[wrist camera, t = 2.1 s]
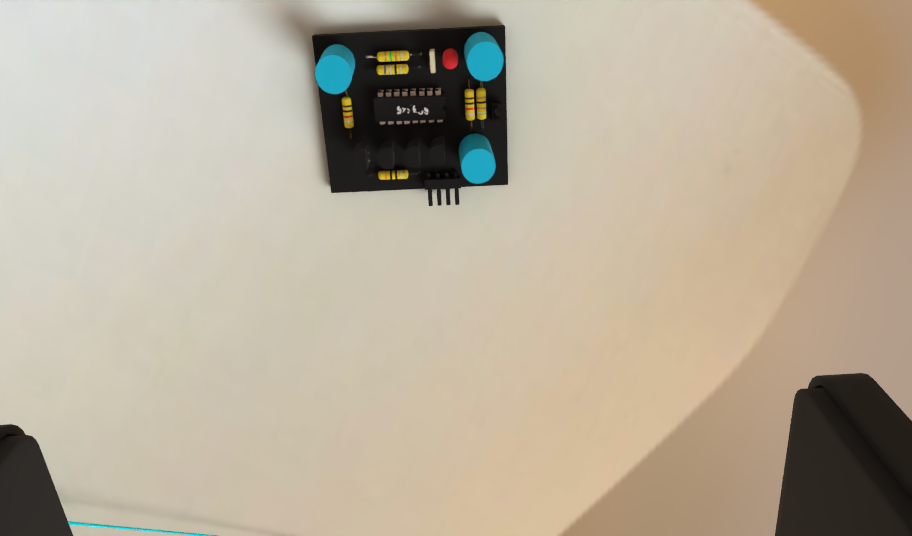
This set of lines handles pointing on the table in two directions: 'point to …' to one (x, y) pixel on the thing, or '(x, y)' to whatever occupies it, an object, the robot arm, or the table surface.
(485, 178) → the circuit board
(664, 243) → the table surface
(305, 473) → the table surface
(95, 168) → the table surface
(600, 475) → the table surface
